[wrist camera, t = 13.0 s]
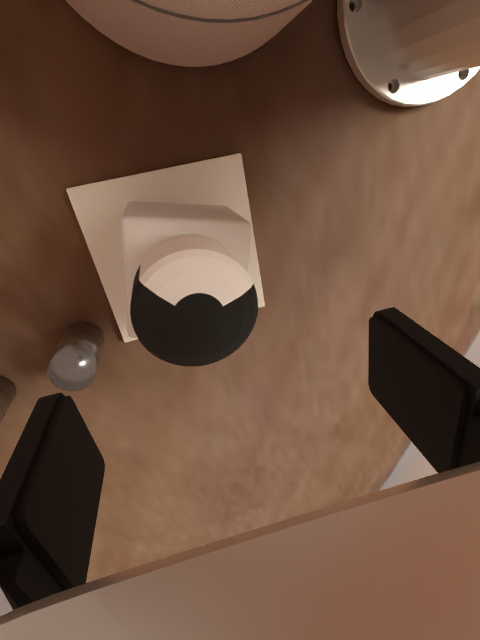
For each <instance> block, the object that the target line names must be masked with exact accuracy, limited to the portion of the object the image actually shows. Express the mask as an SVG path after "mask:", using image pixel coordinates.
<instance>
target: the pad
mask: <svg viewBox="0 0 480 640" xmlns="http://www.w3.org/2000/svg"><path fill="white" fill-rule="evenodd" d="M66 191H67V193H68V196H69V199H70V201H71V204H72V206H73V209H74V212H75V214H76V217H77V219H78V222H79V225H80V227H81V230H82V233H83V235H84V238H85V240H86V243H87V246H88V248H89V251H90V253H91V256H92V259H93V261H94V264H95V267H96V269H97V272H98V274H99V277H100V280H101V282H102V285H103V287H104V290H105V293H106V295H107V298H108V300H109V303H110V306H111V308H112V311H113V314H114V316H115V319H116V321H117V324H118V327H119V329H120V332H121V334H122V337H123V340H124V342H129V341H133V340H137V339H138V338H131V337H130V336H129V335H128V333H127V321H126V306H125V291H124V277H123V262H122V247H121V232H120V221H121V218H122V216H123V213H124V211H125V209H126V206H127V204H128V203H129V202H130V201H143V202H164V203H185V204H206V205H225V206H228V207H229V208H230V209H232V210H233V211H234V212H236V213H237V214H239V215H240V216H241V217H243V218H244V219H246V220H247V221H248V222H249V223H250V224H251V239H250V251H249V262H248V275H249V276H250V278H251V280H252V282H253V283H254V286H255V289H256V292H257V298H258V308H259V307H263V306H265V303H264V296H263V290H262V284H261V277H260V271H259V264H258V258H257V251H256V245H255V239H254V232H253V226H252V219H251V213H250V207H249V200H248V194H247V187H246V181H245V175H244V168H243V162H242V155H241V153H237V154H233V155H228V156H223V157H218V158H213V159H208V160H203V161H198V162H193V163H188V164H184V165H179V166H174V167H169V168H164V169H159V170H154V171H149V172H144V173H139V174H134V175H130V176H125V177H120V178H115V179H110V180H105V181H100V182H95V183H90V184H85V185H81V186H76V187H71V188H67V189H66Z"/></svg>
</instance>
